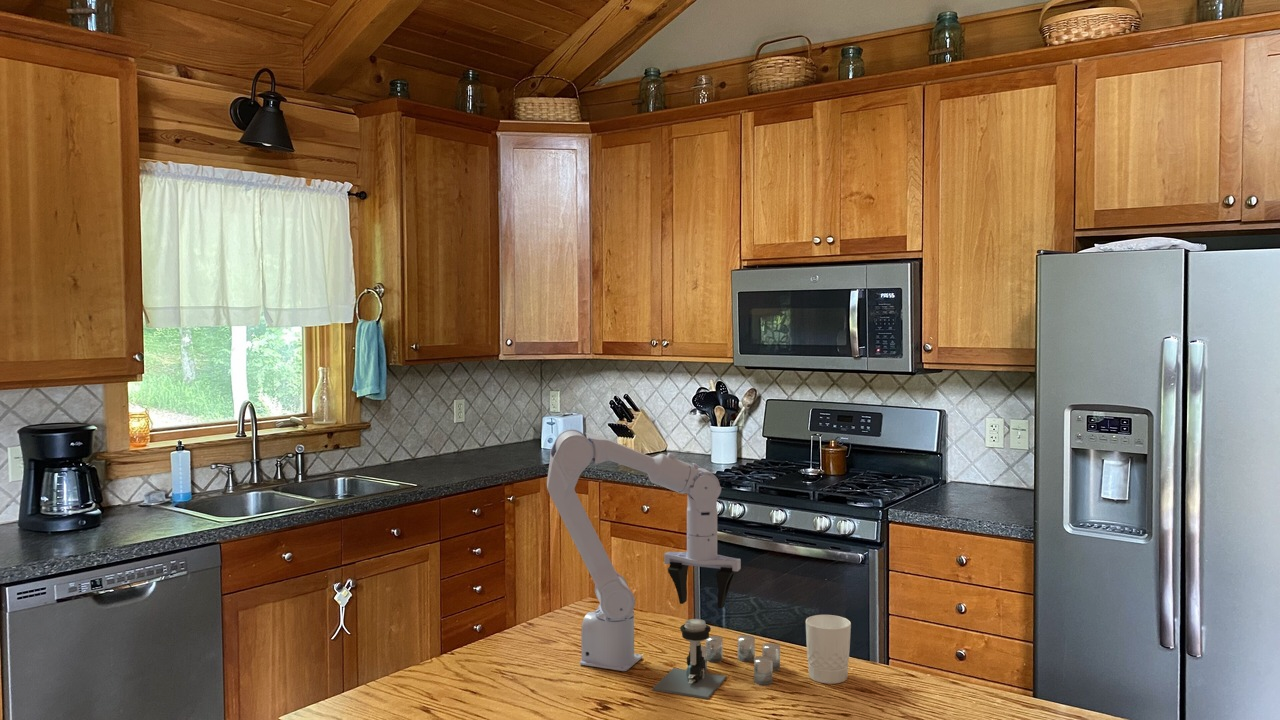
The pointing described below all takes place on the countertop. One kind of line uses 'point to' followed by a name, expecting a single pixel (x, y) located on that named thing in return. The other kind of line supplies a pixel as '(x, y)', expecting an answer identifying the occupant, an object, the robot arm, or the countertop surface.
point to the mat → (689, 684)
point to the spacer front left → (703, 655)
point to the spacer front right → (763, 670)
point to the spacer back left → (714, 648)
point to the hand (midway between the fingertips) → (702, 604)
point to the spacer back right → (772, 654)
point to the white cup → (828, 648)
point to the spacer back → (746, 648)
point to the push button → (695, 647)
